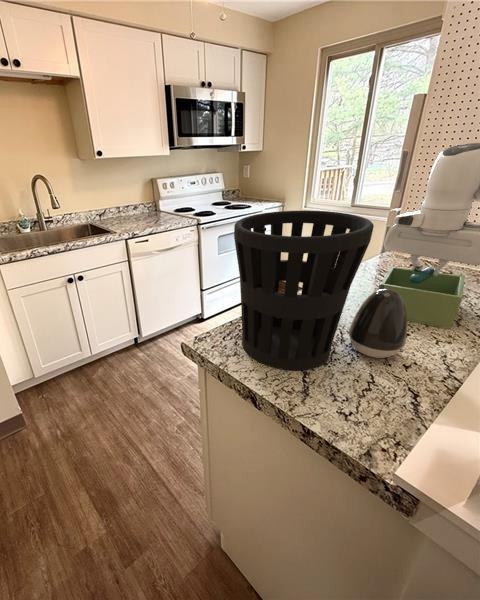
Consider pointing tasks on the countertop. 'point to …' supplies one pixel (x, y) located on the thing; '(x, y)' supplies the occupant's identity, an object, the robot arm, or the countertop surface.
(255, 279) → the wastebasket
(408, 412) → the countertop surface
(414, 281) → the teal rounded rod
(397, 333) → the dark brown egg shape
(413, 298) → the bin
